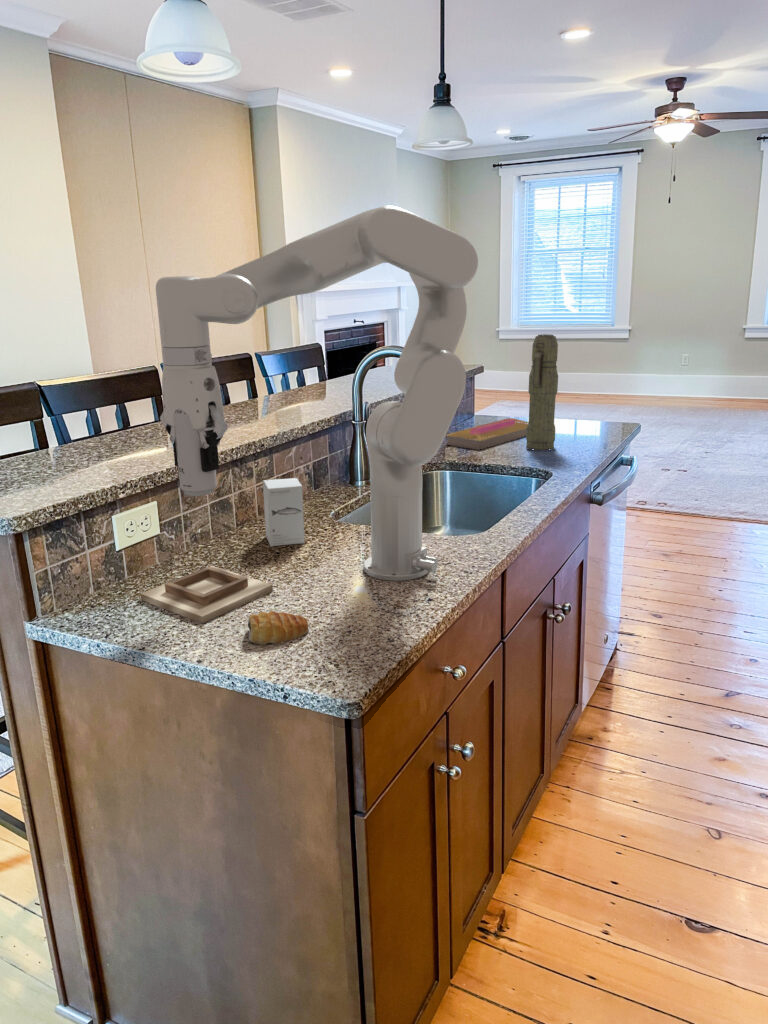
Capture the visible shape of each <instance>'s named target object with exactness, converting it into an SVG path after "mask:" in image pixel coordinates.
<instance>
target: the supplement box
mask: <svg viewBox="0 0 768 1024" xmlns="http://www.w3.org/2000/svg"><path fill="white" fill-rule="evenodd" d="M262 490H263V491H262V492H263V493H262V494H263V506H264V507H263V509H264V523H265V525H264V526H265V537H266V539H267V541H268V544H269V546H270V547H271V548H273V547H277V546H285V545H286V546H287V545H296V544H299V545H300V544H305V541H306V540H305V539H306V538H305V521H304V520H305V519H304V496H303V492H304V491H303V485H302V483H301V482H300V481H299V479H298V478H297V477H292V478H276V479H265V480H263V479H262Z"/></svg>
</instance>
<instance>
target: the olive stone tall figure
mask: <svg viewBox="0 0 768 1024" xmlns="http://www.w3.org/2000/svg"><path fill="white" fill-rule="evenodd" d="M558 348H559V344H558V340H557V337H556V335H554V334H548V333H547V334H546V333H545V334H538V335H536V336H535V337H534V339H533V342H532V350H531V351H532V353H531V354H532V355H531V361H532V365H531V370H530V372H529V376H528V394H529V404H528V405H529V407H528V408H529V409H528V410H529V411H528V422H529V424H528V423H527V424H528V426H527V431H526V436H525V441H526V445H525V446H526V447H525V448H526V449H527V448H529V449H534V450H549V449H553V448H554V449H555V441H556V440H555V439H556V426H555V414H556V396H557V394H558V386H559V373H558V369H557V368H558V367H557V362H558V350H559V349H558ZM529 449H528V450H529ZM554 449H553V450H554ZM534 450H533V451H534ZM549 451H550V450H549Z"/></svg>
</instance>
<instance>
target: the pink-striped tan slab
mask: <svg viewBox="0 0 768 1024" xmlns="http://www.w3.org/2000/svg"><path fill="white" fill-rule="evenodd" d="M528 424H529V421H526V420H521V419H517V418H512V417H507V418H504V419H501V420H496V421H493V422H488V423H484V424H481V425H476V426H473V427H468V428H465V429H462V430H458V431H455V432H451V433H446V436H445V437H446V438H447V439H446V441H447V442H446V443H447V444H446V445H447V446H452V447H458V448H463V449H464V448H465V449H469V450H470V449H471V450H475V451H476V450H477V451H481V450H485V449H487V447H488V448H490V446H491V447H494V445H495V446H496V445H497V444H498V445H500V444H501V443H502V444H504V442H505V443H508V442H511V440H512V441H515V440H519V439H521V438H520V437H522V438H525V437H526V431H527V426H528ZM524 436H525V437H524ZM518 438H519V439H518ZM507 441H508V442H507ZM498 445H497V446H498ZM480 449H481V450H480Z"/></svg>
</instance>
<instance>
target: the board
mask: <svg viewBox="0 0 768 1024" xmlns="http://www.w3.org/2000/svg"><path fill="white" fill-rule="evenodd" d="M273 587H274V586H273V584H271V583H269V582H265V581H262V580H259V579H256V578H252V577H249V576H246V575H243V574H240V573H236V572H233V571H231V570H227V569H223V568H220V567H217V566H214V565H210V566H207V567H204V568H202V569H199V570H196V571H194V572H191V573H189V574H187V575H183V576H182V577H179V578H175V579H174V580H171V581H169V582H165V583H164V584H162V585H158V586H156V587H154V588H151V589H149V590H146V591H143V592H141V593H140V595H139V596H140V601H142V602H146V603H147V604H149V605H153V606H155V607H159V608H161V609H164V610H166V611H168V612H172V613H174V614H177V615H180V616H182V617H185V618H188V619H191V620H193V621H195V622H198V623H201V624H204V623H206V622H209V621H211V620H213V619H215V618H217V617H219V616H221V615H224V614H226V613H228V612H230V611H232V610H235V609H237V608H239V607H241V606H244V605H245V604H247V603H249V602H252V601H254V600H255V599H259V598H260V597H263V596H265V595H267V594H269V593H272V592H273V590H274V588H273Z"/></svg>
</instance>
